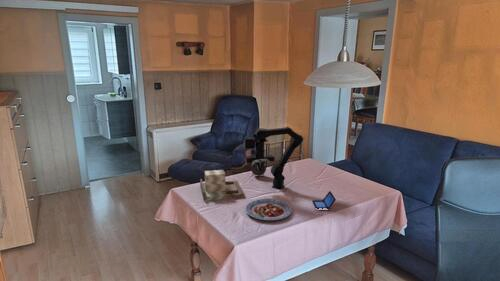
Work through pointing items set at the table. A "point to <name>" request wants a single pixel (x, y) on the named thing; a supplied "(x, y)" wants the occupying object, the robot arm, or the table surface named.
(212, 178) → the birch block
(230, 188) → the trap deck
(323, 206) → the handheld game console
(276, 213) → the ceramic plate
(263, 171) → the alarm clock
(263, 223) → the table surface
